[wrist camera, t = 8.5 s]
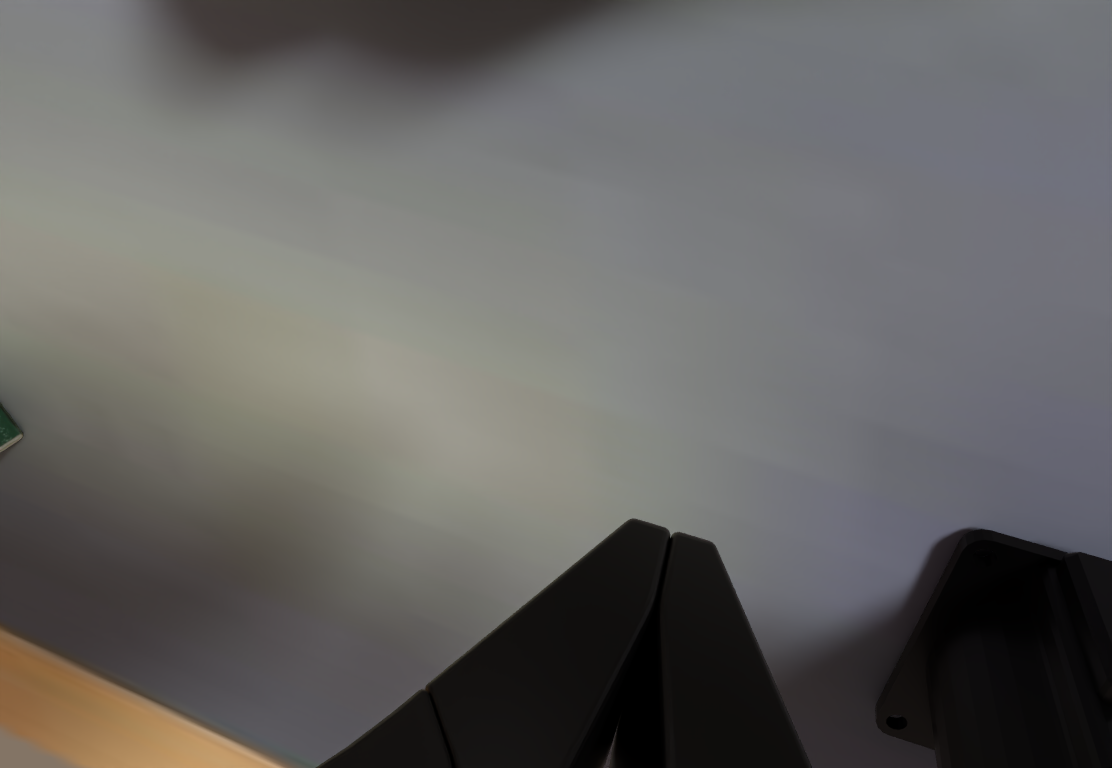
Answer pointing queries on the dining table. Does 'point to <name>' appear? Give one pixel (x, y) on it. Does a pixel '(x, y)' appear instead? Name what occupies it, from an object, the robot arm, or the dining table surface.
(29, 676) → the dining table surface
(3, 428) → the crayon box
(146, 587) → the dining table surface
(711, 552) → the robot arm
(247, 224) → the dining table surface
